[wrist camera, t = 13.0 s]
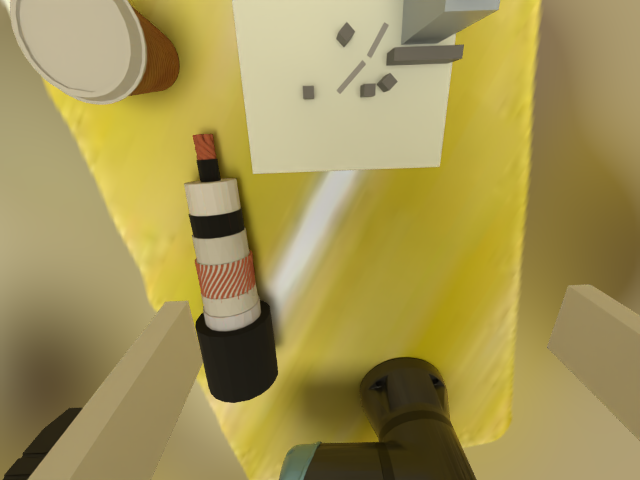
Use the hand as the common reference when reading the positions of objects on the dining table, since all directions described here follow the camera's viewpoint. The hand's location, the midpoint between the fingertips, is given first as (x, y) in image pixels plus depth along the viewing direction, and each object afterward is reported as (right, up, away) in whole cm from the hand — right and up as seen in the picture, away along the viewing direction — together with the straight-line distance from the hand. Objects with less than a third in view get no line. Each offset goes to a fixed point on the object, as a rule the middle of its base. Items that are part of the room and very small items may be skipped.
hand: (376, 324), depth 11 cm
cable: (-15, +1, +33) cm, 36 cm away
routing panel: (+1, +21, +24) cm, 32 cm away
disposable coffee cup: (-21, +23, +23) cm, 39 cm away
